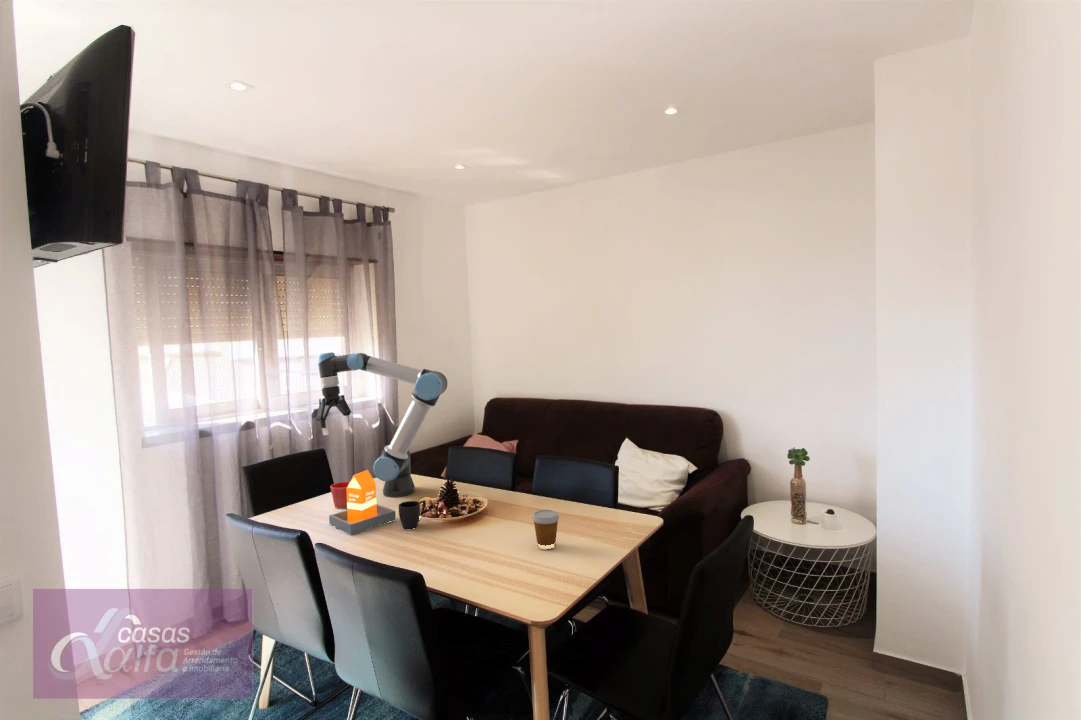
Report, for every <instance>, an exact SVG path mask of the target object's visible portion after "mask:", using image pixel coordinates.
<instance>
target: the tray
mask: <svg viewBox="0 0 1081 720" xmlns="http://www.w3.org/2000/svg"><path fill="white" fill-rule="evenodd" d="M376 507H377V516H374V517H371V518H368V519H365V520H361V521H358V522H355V523H349V522H348V512H347V510H343V511H340V512H337V513H333V514H330V515H328V516H329V517H328V518H329V522H328V523H329V525H330V524H331V525H332V526H331V525H330V526H331V527H333V526H335V527H336V528H335V527H334V528H335V529H337V528H339V529H340V531H341V530H342V531H341V532H343V531H344V532H343V533H345V532H346V533H345V534H347V533H348V534H347V535H349V536H352V535H355V534H358V533H361V532H360V531H362V532H364V531H363V530H365V531H366V529H368V530H370V529H369V528H371V527H374V528H376V527H375V526H377V527H379V526H378V525H380V524H383V525H385V524H384V523H386V524H388V523H387V522H389V521H392V522H394V521H393V520H395V521H396V519H397V518H396V510H395V509H391V508H388V507H385V506H383V505H380V504H378V503H376ZM389 523H390V522H389ZM380 526H381V525H380ZM339 529H338V530H339ZM371 529H372V528H371ZM357 532H358V533H357Z"/></svg>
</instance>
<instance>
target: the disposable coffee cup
mask: <svg viewBox="0 0 1081 720" xmlns="http://www.w3.org/2000/svg"><path fill="white" fill-rule="evenodd" d="M559 519H560V516H559V513H558V512H557V511H556V510H552V509H540V510H536V511H534V513H533V516H532V520H533V523H534V530H535V537H536V544H537V543H538V544H540V545H545V546H546V545H551V544H554V543H555V542H557V533H558V525H559V524H558V521H559ZM555 544H556V543H555Z"/></svg>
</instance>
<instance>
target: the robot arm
mask: <svg viewBox="0 0 1081 720" xmlns="http://www.w3.org/2000/svg"><path fill="white" fill-rule="evenodd" d="M317 366H318V372H319V378H320V384H321V385H320V386H321V387H322V388H321V394H322V396H323V398H319V399H318V402H319V405H318V407H317V408H318V409H317V414H316V421H318V422H320V428H321V431H322V435H323V436H329V435H330V430H329V425H328V423H329V422H328V420H327V417H328V415H329V412H330V409H332V408H334V407H335V408H336V409H338V411H339V412H340V414H341V415H342V416H341V418H342V425H343V430H344V431H346V430H350V429H351V428H350V421H349V420H350V419H349V416H350V415H351V413H352V411H351V408H350V407H349V404H348V402H347V401H346V398H345V395H344V394H341V395H340V393H341V390H340V386H339V385H340V382H339V376H338V373H342V372H351V371H358V370H361V371H363V372H364V371H365V372H369V373H372V374H375V375H379V376H383V377H386V378H389V379H394V380H397V381H399V382H400V381H401V382H403V383H408V384H411V385H414V389H413V391H412V393H411V397H412V399H411V402H410V404H409V406H408V408H407V410H406V412H405V414H404V416H403V418H402V420H401V422H400V424H399V425H398V427H397V430H396V432H395V433H394V435H393V437H392V440H391V441H390V444H388V445H385V446H384V447H383V449H382V451H381V453H380V456H378V458H377V459H376V460H375V461H374V462H373V466H372V471H373V473H374V476H375V477H376V478H377V479H378V480H380V481H382V482H384V483H383V488H382V495H383V496H384V497H388V496H389V497H390V498H397V496H400V497H404V496H405V497H406V496H409V495H412V494H414V493H415V492H416V488H415V487H416V486H415V483H414V481H413V478H412V474H411V473H412V472H411V470H412V469H411V449H410V447H411V446H412V443H413V441H414V440H415V437H416V436H417V433H418V431H419V429H420V428H421V425H422V424H423V422H424V421H425V419H426V417H427V414H428V412H429V410H430V409H431V408H432V407H435V406H436V404H437V402H438V400H439V398H440V396H441V395H442V394H444V393H445V391H447V388H448V385H449V383H448V378H447V377H446V376H445V374H444V373H442V372H440V371H437V370H430V369H427V368H422V369H418V368H414V367H411V366H407V365H404V364H400V363H396V362H394V361H393V362H392V361H389V360H385V359H382V358H378V357H374V356H370V355H368V354H366V353H363V352H358V353H351V354H350V353H348V354H343V355H335V352H324V353H319V354H318V355H317ZM413 492H414V493H413Z"/></svg>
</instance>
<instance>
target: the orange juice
mask: <svg viewBox="0 0 1081 720" xmlns="http://www.w3.org/2000/svg"><path fill="white" fill-rule="evenodd" d="M349 482H350V483H349V485H348V486H347V508H346V509H347V512H348V522H349V523H355V522H358V521H361V520H365V519H368V518H371V517H374V516H377V507H376V504H377V492H376V491H377V488H376V486H377V485H376V484H377V483H376V482H375V480H374V478H373V476H372V474H371V473H370V471H369V470H368V469H366V470H363V471H361V472H358V473H355V474H353V475H352V478H351V480H350V481H349Z"/></svg>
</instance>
